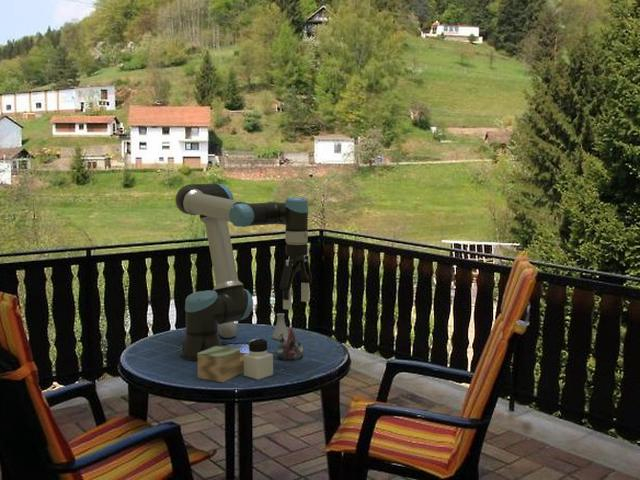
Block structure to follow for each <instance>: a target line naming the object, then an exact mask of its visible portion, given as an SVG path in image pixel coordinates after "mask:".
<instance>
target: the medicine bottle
mask: <svg viewBox="0 0 640 480" xmlns="http://www.w3.org/2000/svg"><path fill="white" fill-rule="evenodd" d="M273 375H274V355H273V353H270V352H268V341H267V340H266V339H264V338H254V339H251V340H249V342H248V354H245V355H244V372H243V376H245V377H248V378H252V379H255V380H261V379H264V378H265V379H266V378H268V377H270V376H273Z"/></svg>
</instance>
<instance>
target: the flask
mask: <svg viewBox="0 0 640 480" xmlns="http://www.w3.org/2000/svg"><path fill="white" fill-rule="evenodd" d="M285 315H286V314H285V313H282V312H281V313H280V312H279V313H277V314H276V316H277V317H276V323H275V324H276V325H275V328H274V330H273V333H272V335H271V339H273V340H278V339H277V336H278V333H279V334H281V333H282V334H283V338H287V337H288V333H289V330H288V328H287V325H286V321H285Z"/></svg>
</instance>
